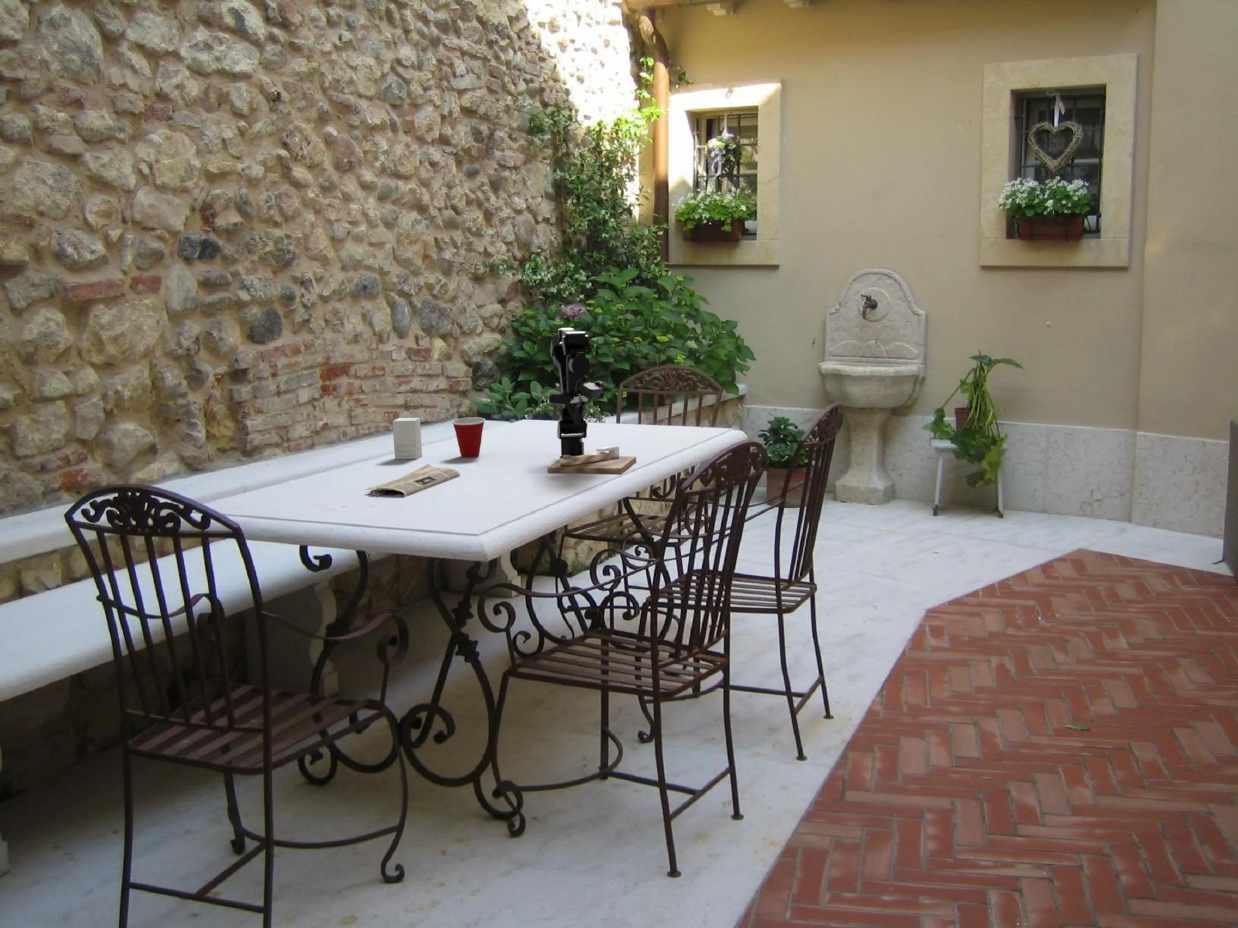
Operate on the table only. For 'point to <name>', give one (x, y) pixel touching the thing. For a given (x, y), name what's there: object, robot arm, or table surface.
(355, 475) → the table surface
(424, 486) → the newspaper
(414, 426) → the supplement box
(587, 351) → the robot arm
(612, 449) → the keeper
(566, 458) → the link
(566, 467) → the board
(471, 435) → the plastic cup
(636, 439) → the table surface
